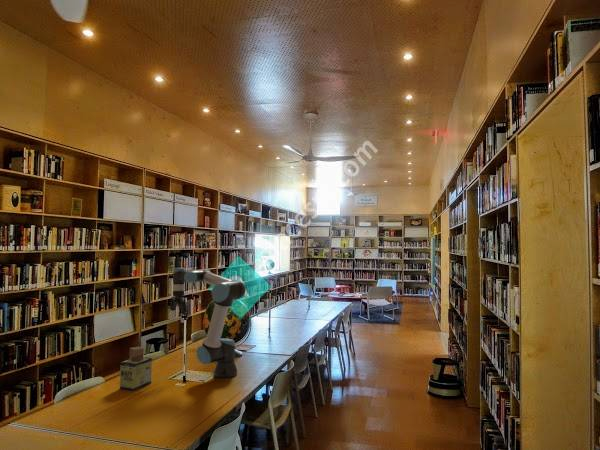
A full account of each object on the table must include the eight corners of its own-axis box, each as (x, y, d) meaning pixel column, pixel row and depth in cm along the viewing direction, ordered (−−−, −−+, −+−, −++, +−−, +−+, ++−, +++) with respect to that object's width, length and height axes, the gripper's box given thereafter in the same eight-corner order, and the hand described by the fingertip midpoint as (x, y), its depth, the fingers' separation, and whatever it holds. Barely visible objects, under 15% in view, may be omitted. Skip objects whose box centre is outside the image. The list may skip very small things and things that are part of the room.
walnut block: (143, 360, 248) (143, 348, 248) (133, 361, 244) (133, 349, 244) (139, 358, 252) (139, 346, 253) (129, 359, 248) (129, 348, 249)
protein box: (119, 389, 242) (119, 362, 243) (138, 381, 256) (138, 355, 257) (133, 391, 238) (134, 364, 239) (151, 383, 253) (152, 357, 254)
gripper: (192, 291, 278) (192, 322, 276) (175, 288, 296) (174, 318, 294) (182, 292, 272) (181, 324, 271) (165, 289, 290) (164, 319, 289)
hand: (177, 321), depth 283 cm, fingers open, 13 cm apart
